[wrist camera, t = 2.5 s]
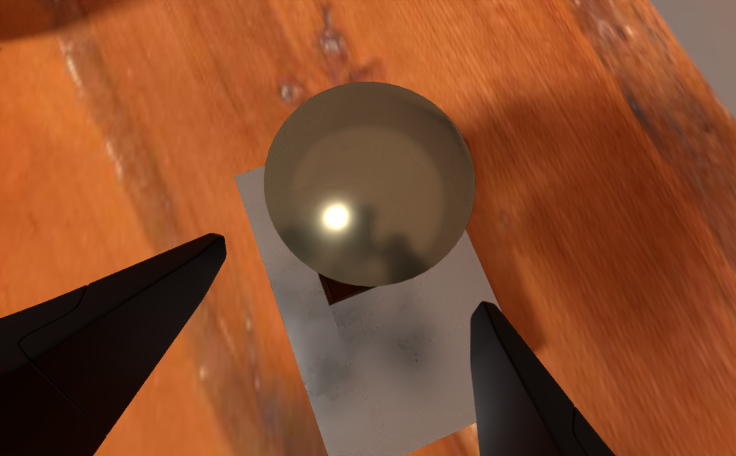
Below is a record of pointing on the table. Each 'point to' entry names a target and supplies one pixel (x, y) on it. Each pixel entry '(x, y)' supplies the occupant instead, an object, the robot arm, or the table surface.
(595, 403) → the table surface
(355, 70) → the table surface
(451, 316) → the housing block
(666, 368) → the table surface
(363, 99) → the end plug
